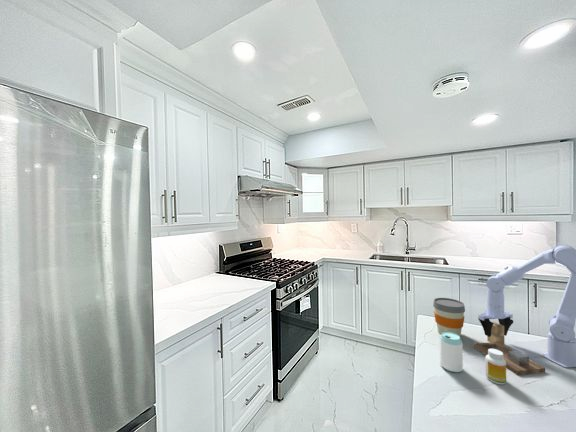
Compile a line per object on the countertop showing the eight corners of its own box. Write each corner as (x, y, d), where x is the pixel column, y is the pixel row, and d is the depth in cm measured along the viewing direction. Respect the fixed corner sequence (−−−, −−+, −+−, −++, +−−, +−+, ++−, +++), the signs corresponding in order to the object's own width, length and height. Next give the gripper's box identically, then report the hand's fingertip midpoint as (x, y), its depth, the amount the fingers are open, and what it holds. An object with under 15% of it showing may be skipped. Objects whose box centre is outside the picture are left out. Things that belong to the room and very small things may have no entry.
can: (463, 376, 86) (462, 342, 86) (439, 369, 90) (439, 337, 90) (462, 365, 92) (461, 333, 92) (440, 359, 96) (439, 329, 96)
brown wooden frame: (497, 345, 105) (497, 341, 105) (545, 372, 87) (545, 368, 87) (473, 347, 104) (473, 343, 104) (517, 375, 86) (517, 370, 86)
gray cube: (517, 362, 93) (517, 350, 93) (528, 368, 89) (528, 356, 89) (508, 363, 93) (508, 351, 93) (519, 369, 89) (519, 357, 89)
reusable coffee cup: (468, 333, 115) (467, 301, 115) (461, 343, 107) (461, 309, 107) (437, 325, 124) (437, 295, 124) (429, 333, 116) (429, 302, 116)
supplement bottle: (510, 386, 81) (510, 356, 81) (491, 384, 82) (491, 355, 82) (499, 375, 86) (499, 348, 86) (482, 373, 87) (482, 346, 87)
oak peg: (495, 339, 109) (495, 322, 109) (504, 344, 105) (504, 326, 105) (487, 340, 109) (487, 322, 109) (496, 345, 105) (495, 326, 105)
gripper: (501, 300, 112) (501, 329, 112) (472, 301, 110) (472, 331, 110) (517, 305, 105) (517, 337, 105) (486, 307, 103) (486, 339, 103)
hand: (495, 335), depth 107 cm, fingers open, 7 cm apart
